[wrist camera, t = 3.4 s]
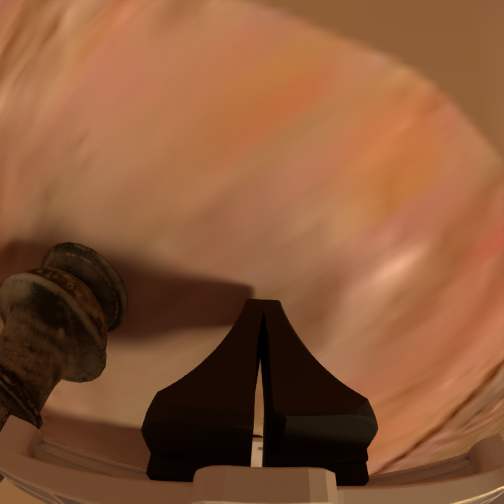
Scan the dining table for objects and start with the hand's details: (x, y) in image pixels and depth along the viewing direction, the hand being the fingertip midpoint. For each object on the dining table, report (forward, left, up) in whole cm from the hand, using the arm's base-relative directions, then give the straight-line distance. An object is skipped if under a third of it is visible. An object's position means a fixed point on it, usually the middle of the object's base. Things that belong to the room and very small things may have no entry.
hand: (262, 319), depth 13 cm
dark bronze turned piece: (0, +9, -1) cm, 9 cm away
